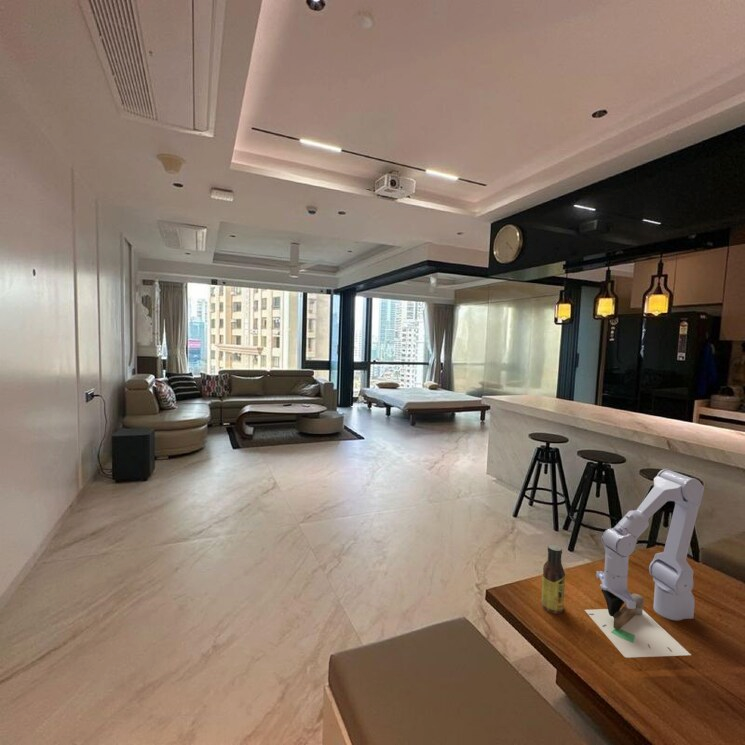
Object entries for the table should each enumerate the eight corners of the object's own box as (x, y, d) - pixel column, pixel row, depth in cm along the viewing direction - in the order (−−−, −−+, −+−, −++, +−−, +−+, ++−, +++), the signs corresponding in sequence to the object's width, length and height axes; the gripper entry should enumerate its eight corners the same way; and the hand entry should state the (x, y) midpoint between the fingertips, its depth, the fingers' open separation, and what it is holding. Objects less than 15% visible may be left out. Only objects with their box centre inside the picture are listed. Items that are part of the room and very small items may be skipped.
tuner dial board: (640, 611, 120) (640, 607, 120) (691, 658, 102) (691, 654, 102) (584, 612, 119) (584, 609, 119) (624, 661, 102) (625, 657, 101)
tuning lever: (633, 606, 120) (634, 592, 120) (644, 612, 118) (645, 597, 117) (607, 627, 111) (608, 612, 111) (618, 634, 109) (619, 618, 108)
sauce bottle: (562, 619, 117) (565, 556, 115) (539, 611, 120) (542, 549, 118) (564, 606, 122) (567, 546, 120) (542, 599, 125) (545, 540, 124)
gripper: (587, 557, 121) (585, 599, 122) (619, 587, 107) (616, 634, 108) (609, 557, 121) (607, 598, 122) (644, 586, 107) (641, 633, 108)
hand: (613, 615), depth 115 cm, fingers closed
